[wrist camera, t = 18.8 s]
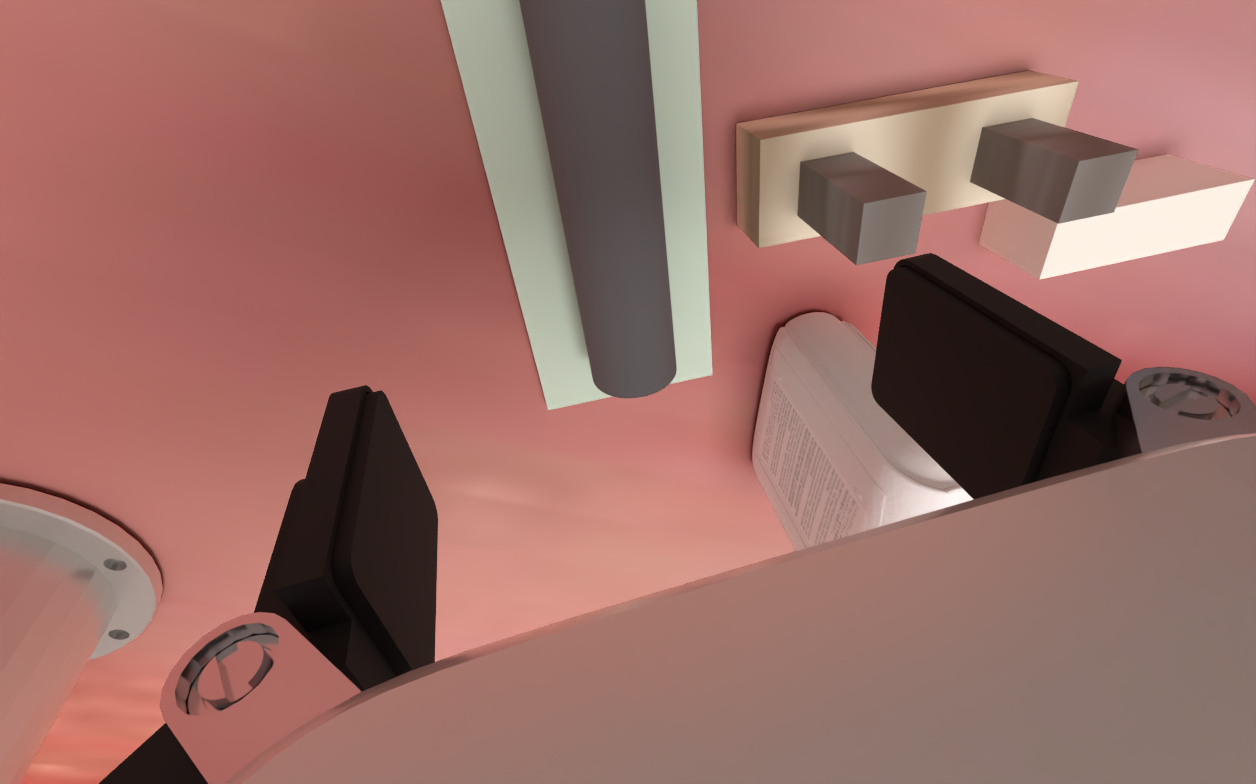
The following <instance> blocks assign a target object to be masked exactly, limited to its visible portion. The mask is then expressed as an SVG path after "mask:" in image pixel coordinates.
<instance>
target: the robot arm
mask: <svg viewBox="0 0 1256 784" xmlns="http://www.w3.org/2000/svg"><path fill="white" fill-rule="evenodd" d="M1121 361H1122V360H1121V359H1119V358H1117V357H1115V356H1113V355H1112V354H1110V353H1108V352H1106V351H1105V350H1103V349H1101V348H1099V347H1098V346H1096V345H1094V344H1092V343H1090V342H1089V341H1087V340H1085V339H1083V338H1082V337H1080V336H1078V335H1076V334H1075V333H1073V332H1071V331H1069V330H1068V329H1066V328H1064V327H1062V326H1060V325H1059V324H1057V323H1055V322H1053V321H1052V320H1050V319H1048V318H1046V317H1045V316H1043V315H1041V314H1039V313H1037V312H1036V311H1034V310H1032V309H1030V308H1029V307H1027V306H1025V305H1023V304H1022V303H1020V302H1018V301H1016V300H1014V299H1013V298H1011V297H1009V296H1007V295H1006V294H1004V293H1002V292H1000V291H999V290H997V289H995V288H993V287H992V286H990V285H988V284H986V283H984V282H983V281H981V280H979V279H977V278H976V277H974V276H972V275H970V274H969V273H967V272H965V271H963V270H961V269H960V268H958V267H956V266H954V265H953V264H951V263H949V262H947V261H946V260H944V259H942V258H940V257H939V256H937V255H935V254H931V253H929V254H924V255H920V256H915V257H911V258H907V259H902V260H900V261H898V262H897V263H896V265H895V267H894V269H893V270H891V271H890V272H889V273H888V275H887V279H886V286H885V293H884V300H883V307H882V314H881V320H880V327H879V334H878V341H877V348H876V355H875V362H874V369H873V376H872V383H871V390H872V395H873V398H874V400H875V401H876V403H877V404H878V405H879V406H880V407H881V408H882V409H883V410H884V411H885V412H886V413H887V414H888V415H889V416H890V417H891V418H892V419H893V420H894V421H895V422H896V423H897V424H898V425H899V426H900V427H901V428H902V429H903V430H904V431H905V432H906V433H907V434H908V435H909V436H910V437H911V438H912V439H913V440H914V441H915V442H916V443H917V444H918V445H919V446H920V447H921V448H922V449H923V450H924V451H925V452H926V453H927V454H928V455H929V456H930V457H931V458H932V459H933V460H934V461H935V462H936V463H937V464H938V465H939V466H940V467H941V468H942V469H943V470H944V471H945V472H947V473H948V474H949V475H950V476H951V477H952V478H953V479H954V480H955V481H956V482H957V483H958V484H959V485H960V486H961V487H962V488H963V489H964V490H965V491H966V492H967V493H968V494H969V495H970V496H971V497H972V498H973V499H974V500H971V501H967V502H964V503H960V504H957V505H953V506H950V507H946V508H943V509H939V510H936V511H932V512H929V513H925V514H922V515H918V516H915V517H911V518H908V519H904V520H901V521H898V522H894V523H891V524H887V525H884V526H880V527H877V528H874V529H870V530H867V531H863V532H860V533H856V534H853V535H850V536H846V537H843V538H839V539H836V540H832V541H829V542H826V543H822V544H819V545H815V546H812V547H809V548H805V549H802V550H798V551H795V552H791V553H788V554H785V555H781V556H778V557H774V558H771V559H768V560H764V561H761V562H757V563H754V564H751V565H747V566H744V567H740V568H737V569H734V570H730V571H727V572H724V573H720V574H717V575H714V576H710V577H707V578H703V579H700V580H697V581H693V582H690V583H687V584H683V585H680V586H677V587H673V588H670V589H667V590H663V591H660V592H657V593H653V594H650V595H647V596H643V597H640V598H637V599H633V600H630V601H626V602H623V603H620V604H616V605H613V606H610V607H606V608H603V609H600V610H596V611H593V612H590V613H586V614H583V615H580V616H576V617H573V618H570V619H567V620H563V621H560V622H557V623H554V624H551V625H548V626H544V627H541V628H538V629H535V630H532V631H529V632H525V633H522V634H519V635H516V636H513V637H509V638H506V639H503V640H500V641H497V642H494V643H490V644H487V645H484V646H481V647H478V648H475V649H471V650H468V651H465V652H462V653H459V654H457V655H454V656H451V657H448V658H445V659H443V660H440V661H437V662H435V622H436V579H437V537H438V516H437V510H436V506H435V502H434V500H433V497H432V495H431V493H430V491H429V489H428V486H427V484H426V482H425V480H424V478H423V476H422V473H421V471H420V469H419V467H418V465H417V462H416V460H415V458H414V456H413V454H412V452H411V449H410V447H409V445H408V443H407V441H406V438H405V436H404V434H403V432H402V430H401V427H400V425H399V423H398V421H397V419H396V417H395V414H394V412H393V410H392V408H391V406H390V403H389V401H388V399H387V397H386V395H385V394H384V392H383V391H377V392H372V390H371V389H370V387H368V386H367V385H365V386H361V387H356V388H352V389H348V390H344V391H339V392H335V393H332V394H331V395H330V397H329V400H328V403H327V407H326V410H325V413H324V417H323V420H322V424H321V427H320V431H319V434H318V437H317V441H316V444H315V448H314V451H313V455H312V458H311V462H310V465H309V468H308V472H307V475H306V479H303V480H300V481H298V482H297V483H296V484H295V486H294V488H293V490H292V492H291V495H290V498H289V502H288V505H287V508H286V511H285V515H284V518H283V521H282V524H281V527H280V531H279V534H278V537H277V540H276V544H275V547H274V550H273V553H272V556H271V560H270V563H269V566H268V569H267V572H266V576H265V579H264V582H263V585H262V589H261V592H260V595H259V598H258V601H257V605H256V608H255V611H254V613H252V614H247V615H242V616H239V617H237V618H235V619H233V620H230V621H228V622H226V623H223V624H221V625H220V626H218V627H217V628H215V629H214V630H212V631H211V632H209V633H208V634H206V635H205V636H203V637H202V638H201V639H200V640H199V641H197V642H196V643H195V644H194V645H193V646H192V647H191V648H190V649H189V650H188V651H187V652H185V654H184V655H183V656H182V657H181V659H180V660H179V661H178V663H177V664H176V665H175V666H174V668H173V669H172V670H171V672H170V674H169V676H168V678H167V680H166V682H165V685H164V687H163V689H162V694H161V701H160V709H161V712H162V715H163V718H164V721H165V722H166V723H165V724H164V725H163V726H162V727H161V728H160V729H159V730H157V731H156V732H155V733H154V734H153V735H152V736H151V737H150V738H149V739H147V740H146V741H145V742H144V743H143V744H142V745H141V746H140V747H139V748H138V749H136V750H135V751H134V752H133V753H132V754H131V755H130V756H129V757H128V758H127V759H125V760H124V761H123V762H122V763H121V764H120V765H119V766H118V767H117V768H115V769H114V770H113V771H112V772H111V773H110V774H109V775H108V776H107V777H106V778H104V779H103V780H102V781H101V782H100V783H99V784H1256V407H1255V405H1254V403H1253V402H1252V401H1251V400H1250V398H1249V397H1248V396H1247V395H1246V394H1245V393H1244V392H1242V391H1241V390H1239V389H1238V388H1236V387H1235V386H1234V385H1232V384H1229V383H1227V382H1225V381H1223V380H1221V379H1219V378H1217V377H1214V376H1210V375H1207V374H1204V373H1201V372H1198V371H1192V370H1187V369H1182V368H1172V367H1154V368H1145V369H1142V370H1139V371H1136V372H1133V373H1132V374H1131V375H1130V376H1129V377H1128V378H1127V380H1126V382H1125V384H1122V383H1120V382H1119V381H1117V380H1115V379H1114V377H1115V375H1116V373H1117V371H1118V368H1119V366H1120V364H1121ZM162 591H163V586H162V580H161V574H160V572H159V570H158V568H157V566H156V564H155V562H154V560H153V558H152V557H151V556H150V555H149V553H148V552H147V551H146V550H145V549H144V548H143V547H142V545H141V544H140V543H139V542H138V541H137V540H136V539H134V538H133V537H132V536H131V535H129V534H128V533H127V532H125V531H124V530H123V529H122V528H120V527H119V526H118V525H116V524H114V523H113V522H111V521H109V520H107V519H106V518H104V517H102V516H100V515H99V514H97V513H95V512H93V511H91V510H89V509H86V508H84V507H82V506H79V505H77V504H75V503H72V502H70V501H67V500H65V499H62V498H59V497H56V496H52V495H49V494H46V493H42V492H39V491H36V490H32V489H29V488H24V487H18V486H13V485H8V484H3V483H0V784H20V782H21V781H22V779H23V777H24V775H25V773H26V772H27V770H28V768H29V766H30V764H31V763H32V761H33V759H34V757H35V755H36V754H37V752H38V750H39V748H40V746H41V745H42V743H43V741H44V739H45V738H46V736H47V734H48V732H49V730H50V729H51V727H52V725H53V723H54V721H55V720H56V718H57V716H58V714H59V712H60V711H61V709H62V707H63V705H64V704H65V702H66V700H67V698H68V696H69V695H70V693H71V691H72V689H73V687H74V686H75V684H76V682H77V680H78V678H79V677H80V675H81V673H82V671H83V670H84V668H85V666H86V664H87V662H88V661H89V660H91V659H94V658H98V657H101V656H104V655H107V654H109V653H111V652H113V651H115V650H118V649H120V648H122V647H124V646H126V645H127V644H129V643H130V642H131V641H133V640H134V639H135V638H137V637H138V636H140V635H141V633H142V632H143V631H144V630H145V629H146V627H147V626H148V625H149V624H150V622H151V620H152V618H153V616H154V614H155V612H156V610H157V608H158V606H159V604H160V601H161V596H162Z"/></svg>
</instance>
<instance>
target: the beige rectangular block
mask: <svg viewBox="0 0 1256 784" xmlns="http://www.w3.org/2000/svg"><path fill="white" fill-rule="evenodd" d="M1254 180H1255V179H1253V178H1250V177H1246V176H1243V175H1239V174H1236V173H1232V172H1229V171H1225V170H1222V169H1219V168H1215V167H1212V166H1208V165H1205V164H1201V163H1198V162H1194V161H1191V160H1187V159H1184V158H1181V157H1177V156H1174V155H1170V154H1165V155H1160V156H1155V157H1150V158H1145V159H1140V160H1135V161H1134V162H1133V165H1132V168H1131V170H1130V173H1129V175H1128V178H1127V180H1126V183H1125V186H1124V188H1123V191H1122V193H1121V196H1120V198H1119V201H1118V204H1117V206H1116V209H1115V211H1114V213H1109V214H1104V215H1099V216H1094V217H1089V218H1084V219H1079V220H1075V221H1070V222H1065V223H1060V224H1058V223H1056V222H1054V221H1051V220H1049V219H1047V218H1045V217H1043V216H1041V215H1039V214H1037V213H1034V212H1032V211H1030V210H1028V209H1026V208H1024V207H1022V206H1020V205H1017V204H1015V203H1013V202H1011V201H1009V200H1007V199H1002V200H997V201H992V202H989V205H988V209H987V213H986V217H985V221H984V225H983V229H982V232H981V236H980V240H979V245H981V246H983V247H984V248H986V249H988V250H990V251H991V252H993V253H995V254H996V255H998V256H1000V257H1002V258H1003V259H1005V260H1007V261H1008V262H1010V263H1012V264H1014V265H1015V266H1017V267H1019V268H1020V269H1022V270H1024V271H1026V272H1027V273H1029V274H1031V275H1032V276H1034V277H1036V278H1038V279H1044V278H1049V277H1053V276H1058V275H1063V274H1067V273H1072V272H1077V271H1081V270H1086V269H1090V268H1095V267H1100V266H1104V265H1109V264H1114V263H1118V262H1123V261H1128V260H1132V259H1137V258H1142V257H1146V256H1151V255H1156V254H1160V253H1165V252H1169V251H1174V250H1179V249H1183V248H1188V247H1193V246H1197V245H1202V244H1207V243H1211V242H1216V241H1221V240H1224V238H1225V236H1226V234H1227V232H1228V230H1229V228H1230V226H1231V224H1232V222H1233V221H1234V219H1235V217H1236V215H1237V213H1238V211H1239V209H1240V207H1241V205H1242V203H1243V201H1244V199H1245V197H1246V195H1247V193H1248V191H1249V189H1250V187H1251V185H1252V184H1253V182H1254Z"/></svg>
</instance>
